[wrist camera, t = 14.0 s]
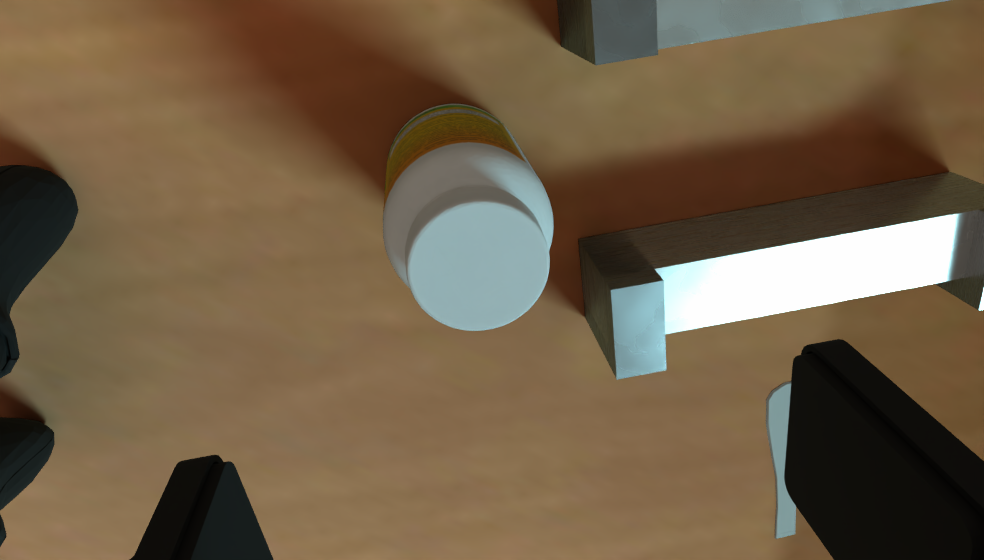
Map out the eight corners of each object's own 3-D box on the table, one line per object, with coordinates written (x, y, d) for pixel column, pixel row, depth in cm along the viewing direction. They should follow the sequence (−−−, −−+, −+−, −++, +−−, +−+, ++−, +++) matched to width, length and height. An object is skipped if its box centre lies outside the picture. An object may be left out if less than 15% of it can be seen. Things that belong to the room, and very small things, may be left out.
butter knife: (821, 374, 34) (766, 387, 33) (803, 665, 44) (761, 675, 44) (816, 369, 34) (761, 382, 34) (799, 658, 45) (758, 669, 45)
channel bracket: (1007, -144, 24) (1144, -167, 20) (936, 252, 31) (1025, 301, 27) (550, -72, 23) (586, -79, 19) (585, 317, 30) (616, 379, 26)
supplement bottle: (357, 156, 26) (335, 255, 17) (467, 72, 25) (502, 131, 16) (441, 255, 28) (458, 386, 20) (544, 180, 27) (611, 282, 19)
